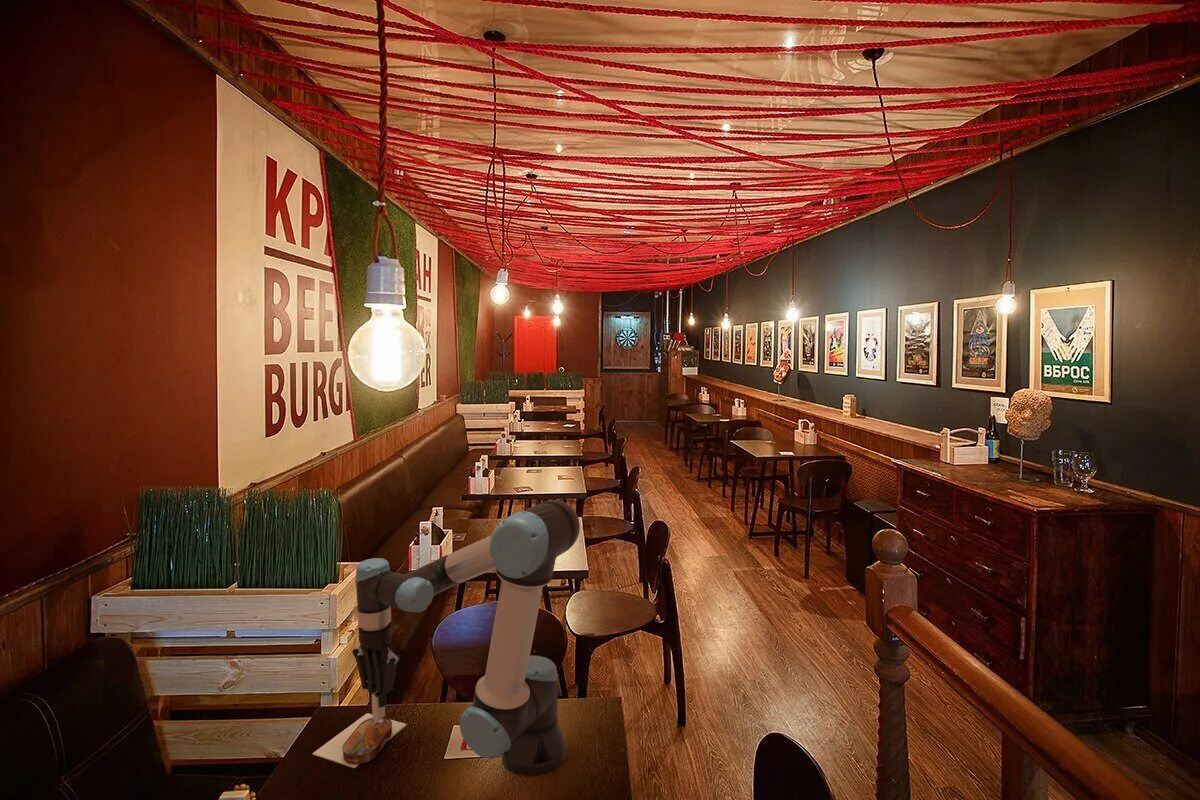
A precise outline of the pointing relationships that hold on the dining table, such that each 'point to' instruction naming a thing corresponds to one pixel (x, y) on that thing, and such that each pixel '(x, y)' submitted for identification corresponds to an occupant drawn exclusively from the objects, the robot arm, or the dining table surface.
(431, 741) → the dining table surface
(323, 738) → the dining table surface
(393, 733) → the placemat
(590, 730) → the dining table surface
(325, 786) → the dining table surface
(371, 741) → the tin
